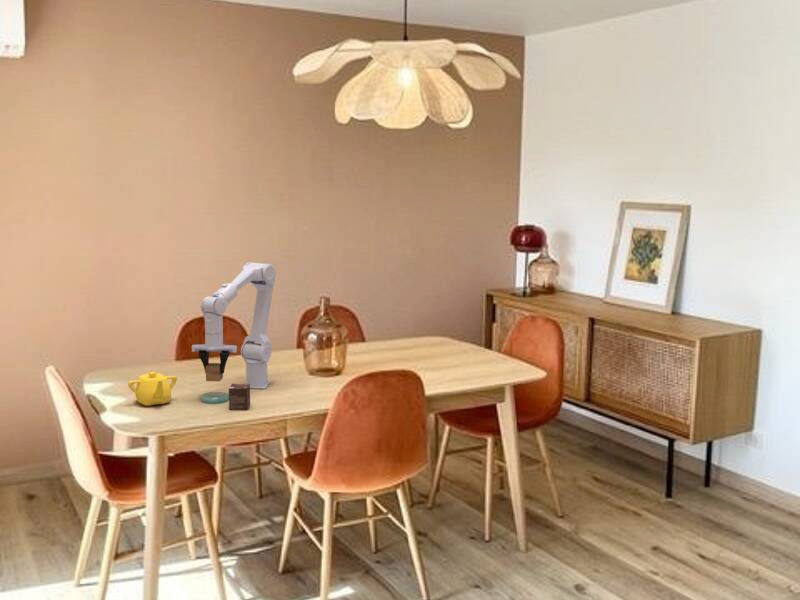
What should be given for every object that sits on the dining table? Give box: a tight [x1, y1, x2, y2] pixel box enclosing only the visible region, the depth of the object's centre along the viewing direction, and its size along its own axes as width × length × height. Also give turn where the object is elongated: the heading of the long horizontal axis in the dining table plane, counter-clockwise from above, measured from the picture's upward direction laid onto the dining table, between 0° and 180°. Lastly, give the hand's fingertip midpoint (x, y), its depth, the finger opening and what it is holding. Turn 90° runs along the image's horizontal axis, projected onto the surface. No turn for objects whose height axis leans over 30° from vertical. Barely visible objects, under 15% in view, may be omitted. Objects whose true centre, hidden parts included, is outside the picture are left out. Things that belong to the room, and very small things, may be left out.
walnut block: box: [205, 362, 224, 382], centre depth 272 cm, size 4×4×5 cm
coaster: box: [200, 391, 229, 405], centre depth 274 cm, size 9×9×2 cm
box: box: [228, 383, 251, 411], centre depth 266 cm, size 6×6×7 cm
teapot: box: [127, 371, 178, 407], centre depth 269 cm, size 14×13×10 cm
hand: (214, 372), depth 273 cm, fingers closed on walnut block, 4 cm apart
